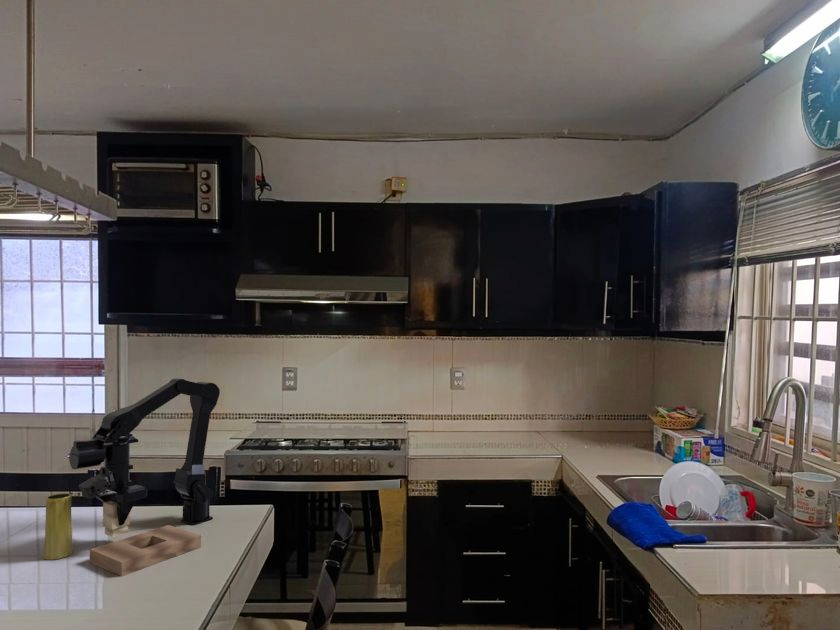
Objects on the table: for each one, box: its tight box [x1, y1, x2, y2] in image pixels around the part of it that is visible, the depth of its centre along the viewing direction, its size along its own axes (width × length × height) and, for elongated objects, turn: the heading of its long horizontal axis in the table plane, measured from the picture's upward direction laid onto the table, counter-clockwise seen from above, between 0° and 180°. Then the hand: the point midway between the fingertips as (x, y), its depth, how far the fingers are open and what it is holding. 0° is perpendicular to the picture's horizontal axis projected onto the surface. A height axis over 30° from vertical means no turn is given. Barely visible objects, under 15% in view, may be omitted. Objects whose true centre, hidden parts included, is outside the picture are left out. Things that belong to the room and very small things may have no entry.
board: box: [89, 524, 202, 577], centre depth 137 cm, size 20×14×3 cm
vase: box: [42, 492, 74, 561], centre depth 137 cm, size 6×6×14 cm
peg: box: [102, 501, 131, 538], centre depth 145 cm, size 4×4×8 cm
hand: (116, 523), depth 145 cm, fingers closed on peg, 4 cm apart
